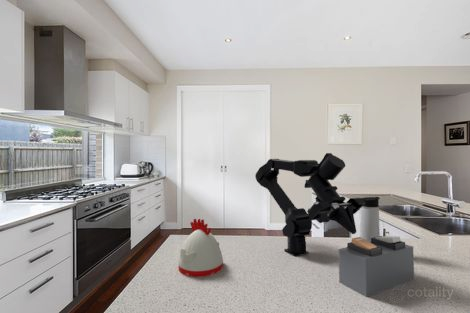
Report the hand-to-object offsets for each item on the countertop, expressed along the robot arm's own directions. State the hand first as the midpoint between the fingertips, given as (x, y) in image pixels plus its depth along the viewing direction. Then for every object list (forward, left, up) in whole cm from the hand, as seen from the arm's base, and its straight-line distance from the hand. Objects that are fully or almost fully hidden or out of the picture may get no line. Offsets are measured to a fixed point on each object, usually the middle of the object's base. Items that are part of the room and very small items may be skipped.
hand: (354, 233), depth 68 cm
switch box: (+3, +5, -13) cm, 14 cm away
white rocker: (+3, +10, -2) cm, 11 cm away
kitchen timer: (-28, -35, -13) cm, 47 cm away
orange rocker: (+3, 0, -2) cm, 4 cm away
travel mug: (-12, +24, -13) cm, 30 cm away
